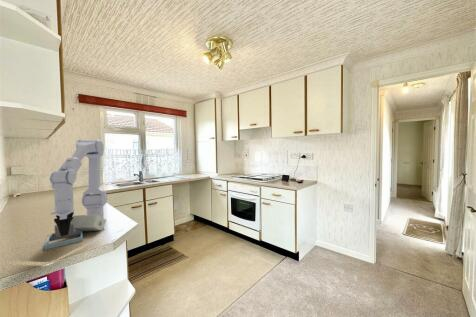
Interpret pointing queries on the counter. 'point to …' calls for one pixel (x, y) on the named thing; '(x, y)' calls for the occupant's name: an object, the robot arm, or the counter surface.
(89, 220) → the small box
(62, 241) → the tray
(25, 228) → the counter surface
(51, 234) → the stake board
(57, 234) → the dark grey block
